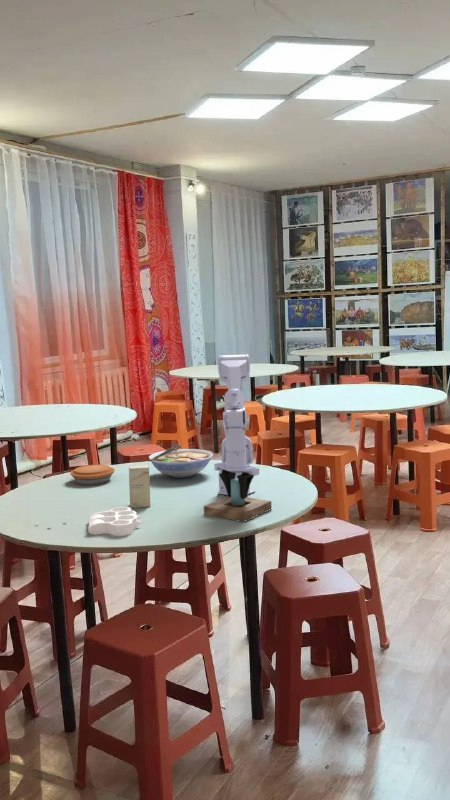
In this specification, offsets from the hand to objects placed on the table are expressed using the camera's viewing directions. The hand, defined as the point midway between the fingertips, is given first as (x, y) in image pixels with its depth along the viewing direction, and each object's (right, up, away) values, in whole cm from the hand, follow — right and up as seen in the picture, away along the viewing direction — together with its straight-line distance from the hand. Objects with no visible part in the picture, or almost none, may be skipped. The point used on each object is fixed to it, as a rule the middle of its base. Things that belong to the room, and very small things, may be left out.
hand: (237, 497), depth 207 cm
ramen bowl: (-19, +1, +48) cm, 52 cm away
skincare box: (-29, -4, +11) cm, 32 cm away
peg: (0, -2, 0) cm, 2 cm away
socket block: (0, -4, +1) cm, 4 cm away
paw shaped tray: (-34, -8, -9) cm, 36 cm away
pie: (-50, -1, +45) cm, 67 cm away
